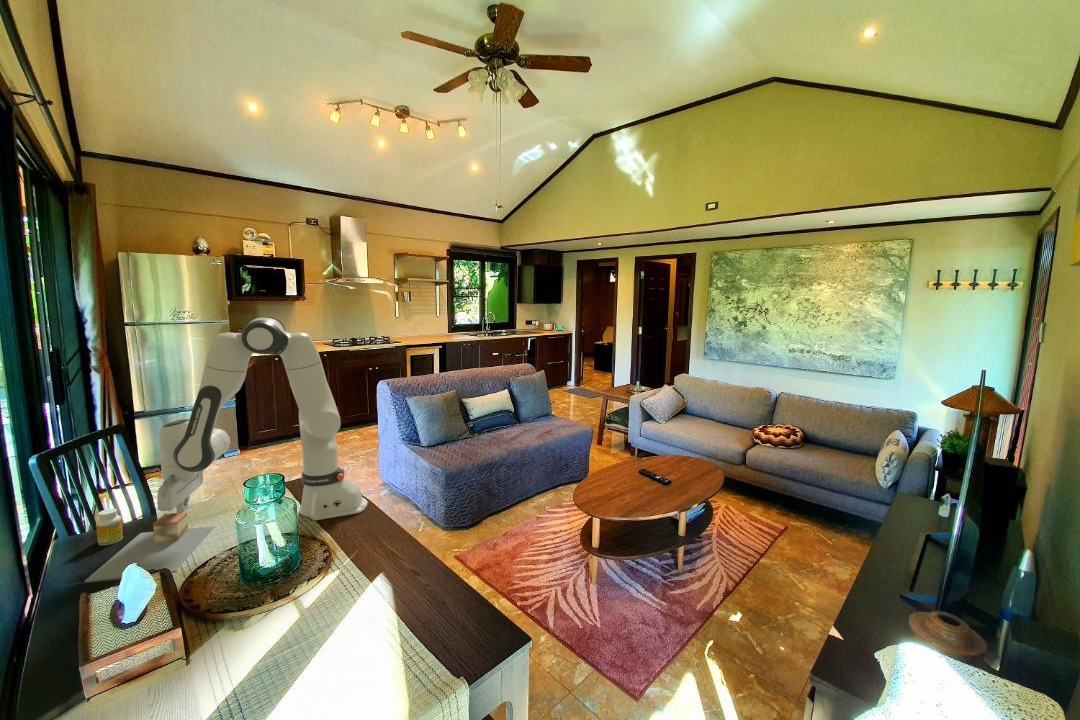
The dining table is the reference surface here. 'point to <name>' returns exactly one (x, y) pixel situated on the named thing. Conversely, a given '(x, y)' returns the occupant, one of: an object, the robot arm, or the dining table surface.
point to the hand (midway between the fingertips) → (182, 510)
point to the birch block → (170, 527)
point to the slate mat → (151, 554)
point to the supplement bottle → (109, 527)
